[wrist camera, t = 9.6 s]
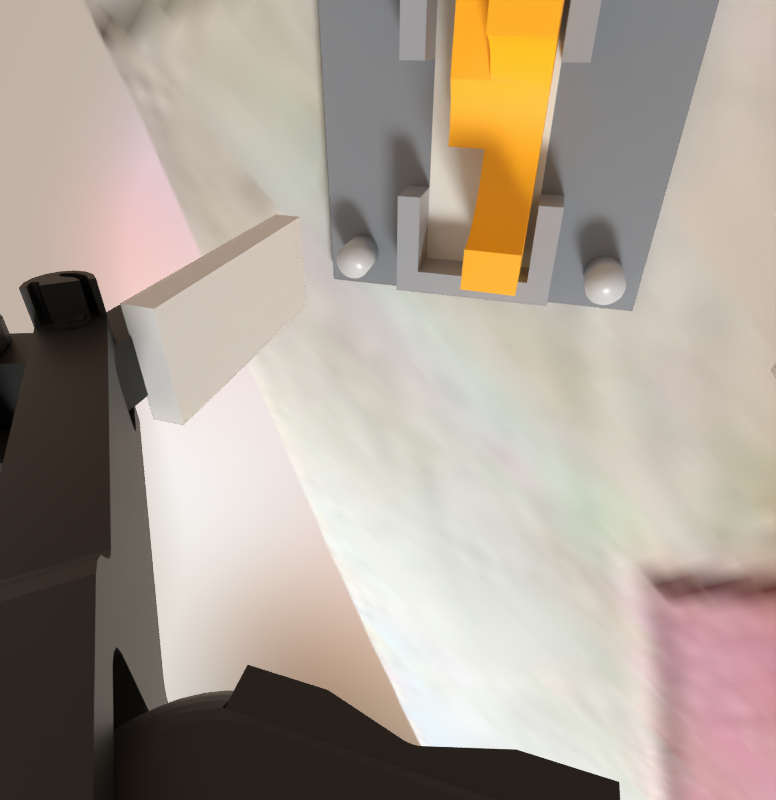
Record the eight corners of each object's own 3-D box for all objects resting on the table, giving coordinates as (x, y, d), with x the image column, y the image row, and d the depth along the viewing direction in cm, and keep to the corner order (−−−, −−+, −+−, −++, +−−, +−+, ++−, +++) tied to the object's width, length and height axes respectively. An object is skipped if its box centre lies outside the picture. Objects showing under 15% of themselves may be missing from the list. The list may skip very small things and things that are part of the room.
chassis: (747, -119, 21) (774, -142, 18) (630, 304, 31) (636, 330, 29) (320, -96, 25) (289, -112, 22) (339, 273, 35) (319, 293, 32)
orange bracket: (469, -18, 24) (442, -32, 19) (567, -18, 23) (568, -33, 18) (447, 243, 31) (424, 284, 26) (524, 251, 30) (515, 296, 25)
